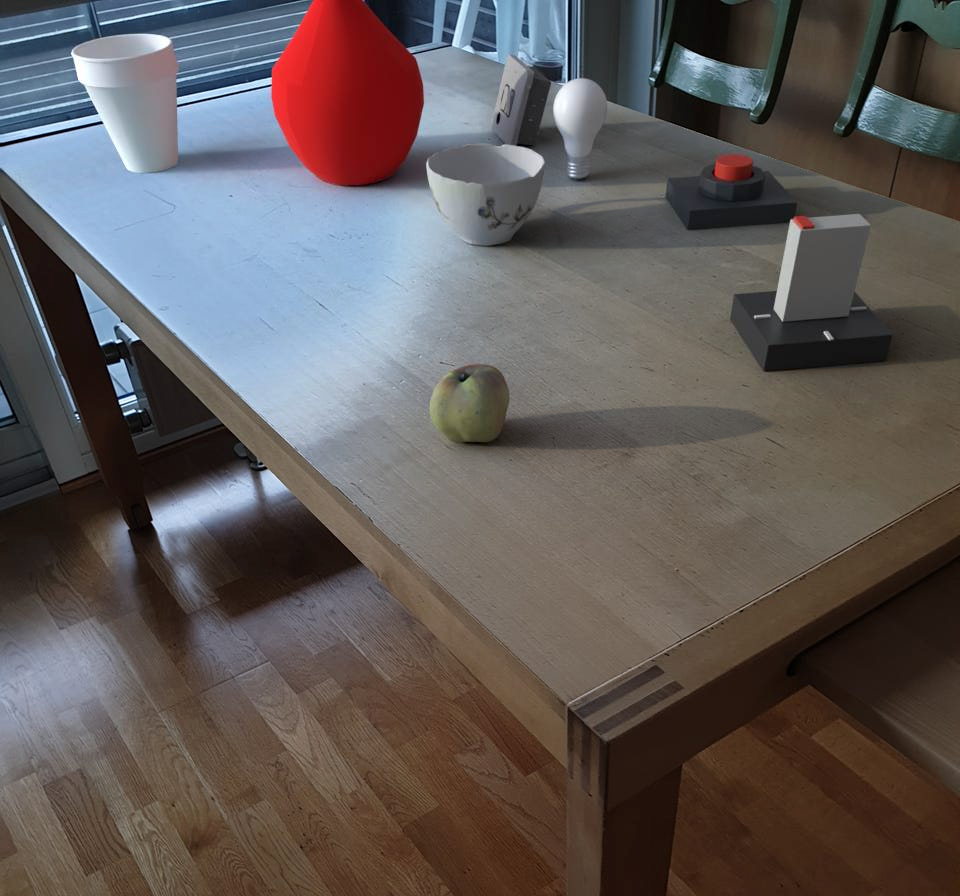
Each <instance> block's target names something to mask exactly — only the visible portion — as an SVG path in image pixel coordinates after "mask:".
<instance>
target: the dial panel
mask: <svg viewBox="0 0 960 896" xmlns="http://www.w3.org/2000/svg"><path fill="white" fill-rule="evenodd" d="M776 294H777V290H769V291H768V290H767V291H757V292H744V293H734V294H733V298H732V304H731V311H730V317H729V320H730V321H731V323H732V324H733V326H734V328H735V329H736V331H737V332H738V334H739V336H740V337H741V338H742V340H743V342H744V343H745V345H746V347H747V348H748V349H749V352H750V353H751V354H752V356H753V357H754V359H755V360H756V362H757V363H758V365H759V367H760V369H761V370H762V372H771V371H782V370H783V371H785V370H794V369H795V370H796V369H807V368H817V367H818V368H819V367H830V366H843V365H853V364H866V363H876V362H885V361H886V360H887V357H888V354H889V349H890V346H891V342H892V339H893V333H892V332H891V331H890V330H889V329H888V327H887V326H886V325H885V324H884V323H883V322H882V321H881V320H880V319H879V317H878V316H877V315H876V314H875V313H874V311H872V309H871V308H870V307H869V306H868V305H867V304H866V302H865V301H864V300H863V299H862V298H861V297H860V296H859V294H858V293H857V292H856V291H855V292H854V296H853V300H852V304H851V308H850V312H849V316H846V317H834V318H822V319H810V320H798V321H786V322H782V320H781V319H780V317H779V316H778V315H777V313H776V312H775V311H774V304H775V299H776Z"/></svg>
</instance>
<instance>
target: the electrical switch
mask: <svg viewBox="0 0 960 896" xmlns="http://www.w3.org/2000/svg"><path fill="white" fill-rule="evenodd" d="M551 85H552V81H551V80H550V79H548V78H547V77H546V76H545V75H544V73H542V72H541V71H539V70H538V69H537V68H536V67H535V66H531V65H527V64H525V62H523V61H522V60H521V59H520V58H519V57H518V56H516V54H508V55H507V57H506V60H505V63H504V68H503V71H502V77H501V80H500V85H499V89H498V94H497V98H496V101H495V106H494V107H495V108H494V111H493V116H492V120H491V130H492V131H493V132H494V133H495V135H496V136H497V137H498V138H499V139H500V140H501V142H503V144H504V145H505V144H507V145H514V146H518V145H517V144H520V145H527V146H533V147H535V146H536V143H537V139H538V137H539V136H538V135H539V132H540V128H541V124H542V119H543V116H544V112H545V109H546V106H547V105H546V104H547V101H548V98H549V93H550V89H551Z"/></svg>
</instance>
